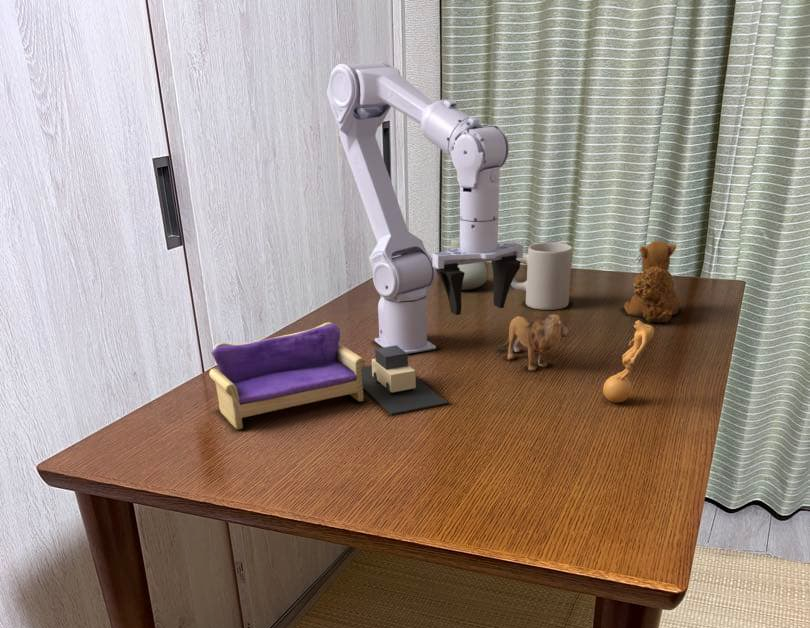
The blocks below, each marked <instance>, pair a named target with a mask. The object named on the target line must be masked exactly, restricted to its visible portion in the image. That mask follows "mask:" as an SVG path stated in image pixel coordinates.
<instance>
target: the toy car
mask: <svg viewBox="0 0 810 628" xmlns="http://www.w3.org/2000/svg"><path fill="white" fill-rule="evenodd" d="M374 355H375V357H374V358H371V366H372V376H373V377H374V380H375V382H376V383H379V382H380V383H381V384H382V385H383V386H385V387H386V390H387V392H388V394H391V393H394V392H398V391H403V390H412V389H414V388H416V378H417V377H416V370H415V369H414V368H413V367H411V366H410V365H409V354H408V353H406V352H405V351H404V350H402V349H401V348H399V347H398V346H397V345H395V346H389V347H378V348H375V350H374ZM415 377H416V378H415Z"/></svg>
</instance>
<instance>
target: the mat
mask: <svg viewBox="0 0 810 628" xmlns="http://www.w3.org/2000/svg"><path fill="white" fill-rule="evenodd" d="M361 370H362V385H363V391H364V392H365V393H367V394H368V395H369V396H370V397H371V398H372V399H373V400H374V401H375V402H376V403H378V404H379V406H380V407H382V408H383V409H384V410H385V411H386V412H387V413H388V414H389V415H390V416H395V415H400V414H405V413H410V412H415V411H419V410H426V409H430V408H435V407H441V406H446V405H448V404H449V401H447V400H445V399H444V398H443V397H441V396H440V395H439V394H438V393H436V392H435V391H434V390H433V389H432V388H430V387H428V386H427V385H426V384H425V383H423V382H422V380H420V379H418V378H417V376H415V378H416V388H414V389H412V390H403V391H398V392H394V393H391V394H388V392H387V390H386V387H385V386H383V385H382V384H381V383H380V382H379V383H376V382H375V380H374V377H373V376H372V365H370V366H364V367H363V368H362V369H361Z"/></svg>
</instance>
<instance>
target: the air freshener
mask: <svg viewBox="0 0 810 628" xmlns="http://www.w3.org/2000/svg"><path fill="white" fill-rule="evenodd" d="M456 248H460V236H455V237H452V238H451V240H450V250H452V249H456ZM458 268H460V271H462V272H464V273H465V274H464V278H463V284H462V291H470V290H475V289H478V288H480V287H481V286H483V285H484V284H486V282H487V277H488V275H487V273H488V272H487V266H486V262H478V263H471V264H463V265H458Z"/></svg>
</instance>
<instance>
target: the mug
mask: <svg viewBox="0 0 810 628" xmlns="http://www.w3.org/2000/svg"><path fill="white" fill-rule="evenodd" d="M516 260H518V261H520V264H524V265H526V267H527V268H526V270H527V271H526V280H525V281H523V282H519V281H517V279H516V278H515V277H516V276H515V277H514V279H513V281H512V283H511V285H510V287H511V288H512V289H514V290H516V291H520V292H525V305H526V306H527V307H528V308H531V309H534V310H539V311H541V310H542V311H554V310H555V311H556V310H561V309H565V308H567V307H568V306H569V303H570V290H571V289H570V287H571V273H572V262H573V246H571V245H570V244H567V243H561V242H540V243H534V244H532V245H530V246H528V250H527V253H526V254H524V253H523V258H516Z"/></svg>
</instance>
